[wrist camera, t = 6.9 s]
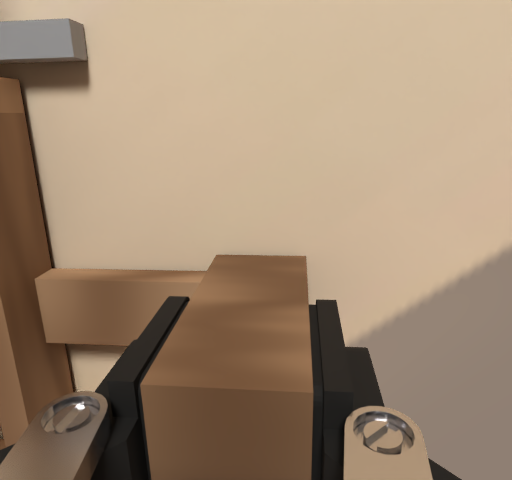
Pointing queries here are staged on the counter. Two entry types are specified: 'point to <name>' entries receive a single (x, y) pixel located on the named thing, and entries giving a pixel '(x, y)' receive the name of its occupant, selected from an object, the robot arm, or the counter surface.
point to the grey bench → (42, 41)
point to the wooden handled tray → (174, 349)
